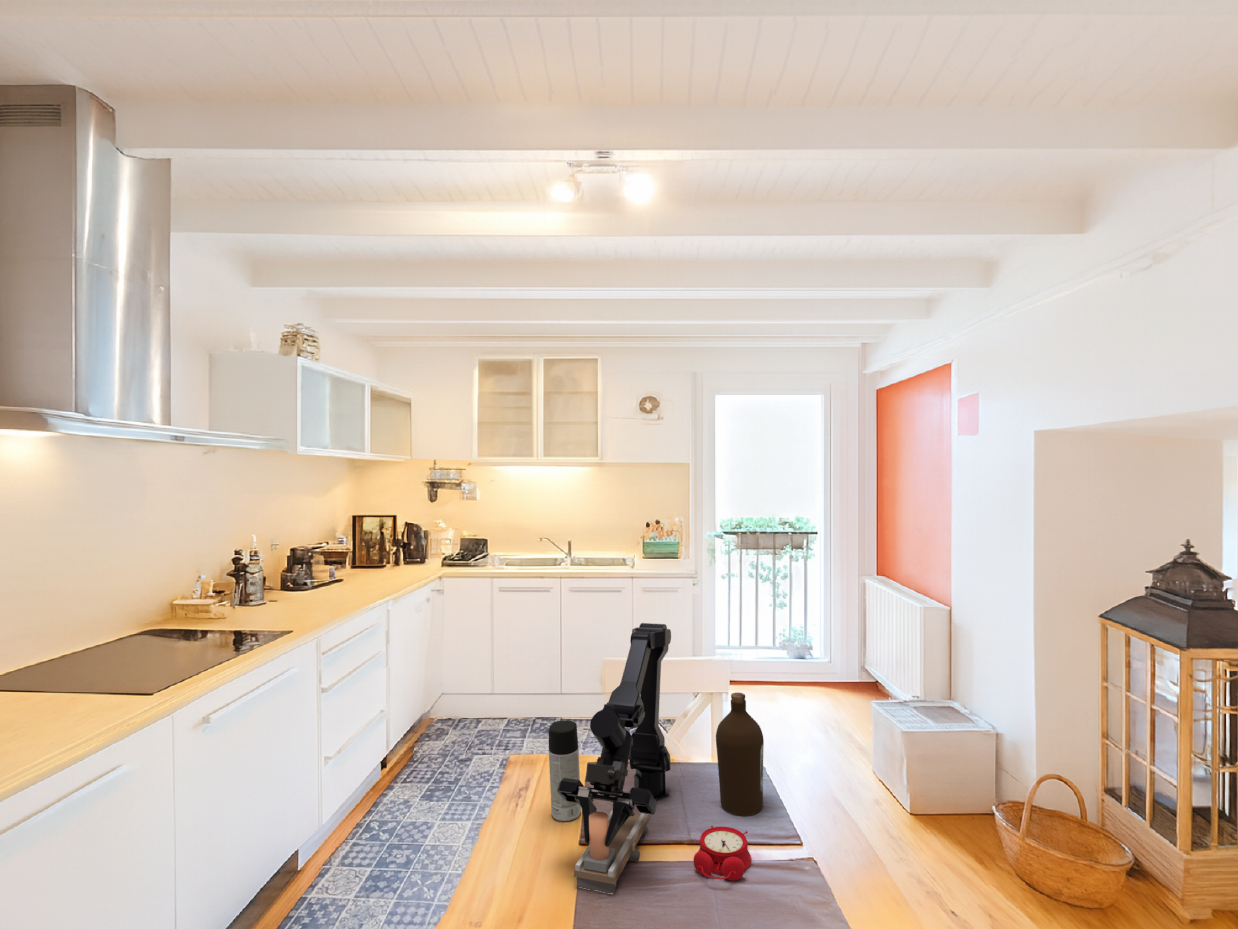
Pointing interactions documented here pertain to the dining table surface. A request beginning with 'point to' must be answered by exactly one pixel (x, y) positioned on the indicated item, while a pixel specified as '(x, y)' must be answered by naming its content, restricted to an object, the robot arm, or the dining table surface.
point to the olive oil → (740, 760)
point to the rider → (598, 844)
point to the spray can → (563, 767)
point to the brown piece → (623, 853)
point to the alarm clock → (722, 853)
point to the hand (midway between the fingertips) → (596, 844)
